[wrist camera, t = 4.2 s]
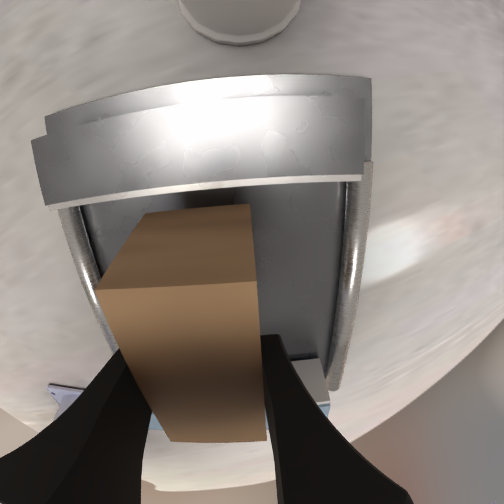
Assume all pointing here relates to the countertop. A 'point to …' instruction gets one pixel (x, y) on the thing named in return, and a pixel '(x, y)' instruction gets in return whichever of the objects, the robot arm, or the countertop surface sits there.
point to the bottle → (239, 19)
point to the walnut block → (191, 321)
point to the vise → (229, 188)
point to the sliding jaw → (311, 379)
